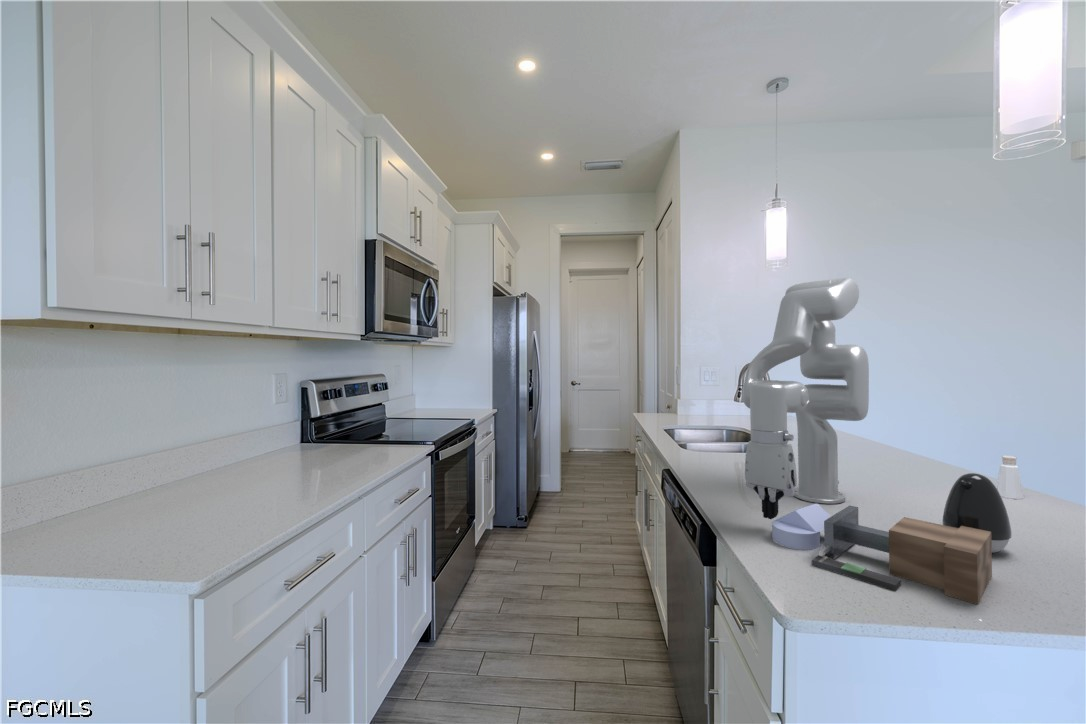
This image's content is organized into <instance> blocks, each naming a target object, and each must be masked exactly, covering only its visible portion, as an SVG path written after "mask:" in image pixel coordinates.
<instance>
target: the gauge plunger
mask: <svg viewBox="0 0 1086 724" xmlns="http://www.w3.org/2000/svg"><path fill="white" fill-rule="evenodd" d="M830 516H831V515H830ZM823 534H824V536H823V538H824V542H823V543H824V547H823V548H821V549H819V551H818V553H819V554H818V555H819V556H822V557H824V556H826V557H828V558H829V559H833V560H835V559H836V558H837V557H839V556H841V554H842V553H844V552H845V551H846V550H849V548H851V547H852V546H853V545H857V546H861V547H865V548H868V549H872V550H876V551H880V552H883V553H887V554H889V531H885V530H882V529H878V528H873V527H868V526H865V525H864V526H863V525H860V524H859V506H854V505H850V504H849V505H848V506H845V507H844V508H843V509H841V510H840V511H838V512H837V513H835V514H832V516H831V517H830V518H828V519H826V520H825V521H824V530H823Z"/></svg>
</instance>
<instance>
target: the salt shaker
mask: <svg viewBox="0 0 1086 724" xmlns="http://www.w3.org/2000/svg"><path fill="white" fill-rule="evenodd" d="M1001 459H1002V464H999V470H998V471H999V472H998V478H997V479H998V480H997V486H996V488H997V490H998V492H999V494H1000V495H1001V498H1004V499H1010V500H1011V499H1012V500H1024V492H1023V488H1022V487H1023V486H1022V485H1023V484H1022V479H1021V473H1020V468H1019V465H1017V457H1016V456H1013V455H1002V456H1001Z"/></svg>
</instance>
